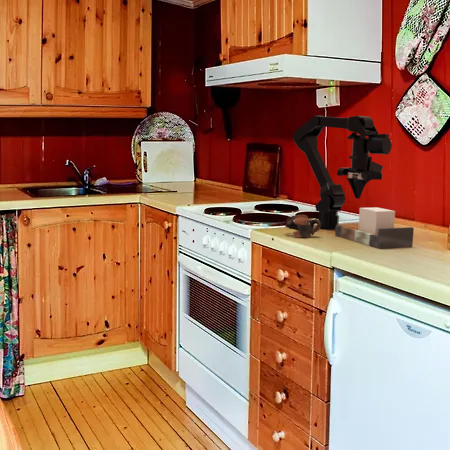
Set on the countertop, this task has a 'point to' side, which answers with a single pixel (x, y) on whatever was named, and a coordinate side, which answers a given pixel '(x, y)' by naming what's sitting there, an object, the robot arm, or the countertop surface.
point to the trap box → (379, 237)
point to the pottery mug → (302, 226)
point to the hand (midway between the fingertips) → (357, 198)
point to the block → (375, 219)
